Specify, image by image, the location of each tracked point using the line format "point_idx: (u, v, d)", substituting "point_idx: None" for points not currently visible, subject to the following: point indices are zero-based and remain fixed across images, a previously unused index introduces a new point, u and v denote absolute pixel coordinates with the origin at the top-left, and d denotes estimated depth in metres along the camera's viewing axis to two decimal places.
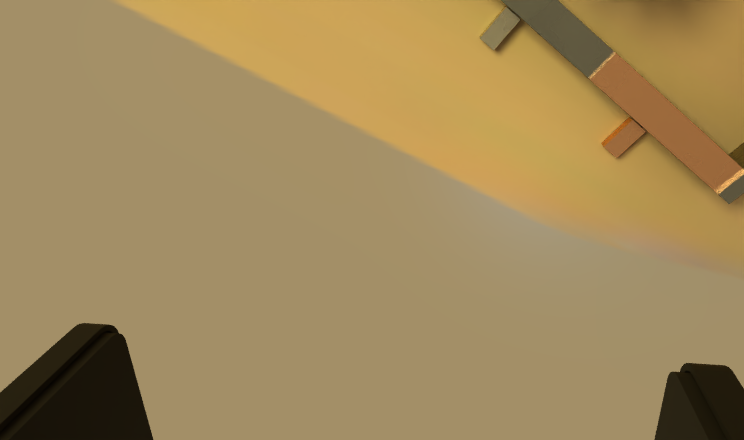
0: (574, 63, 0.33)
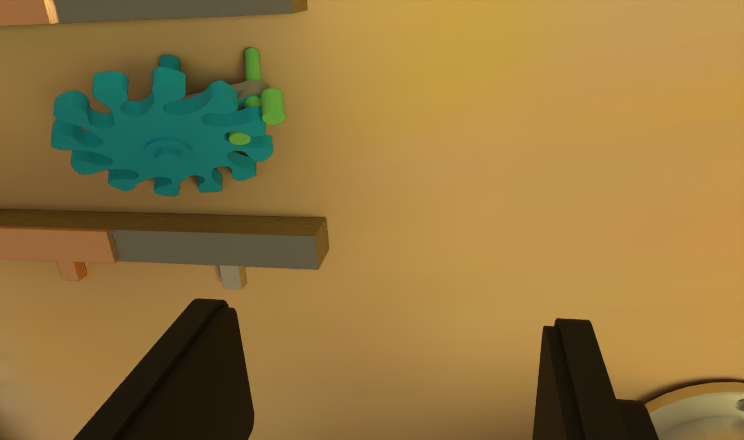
0: None
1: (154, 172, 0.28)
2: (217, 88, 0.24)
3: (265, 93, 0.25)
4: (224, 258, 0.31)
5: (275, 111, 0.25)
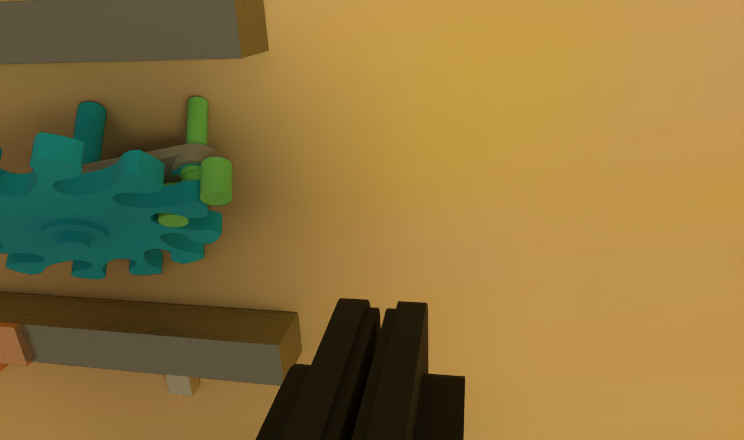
0: None
1: (65, 256, 0.21)
2: (131, 161, 0.17)
3: (205, 164, 0.18)
4: (163, 366, 0.23)
5: (217, 191, 0.18)
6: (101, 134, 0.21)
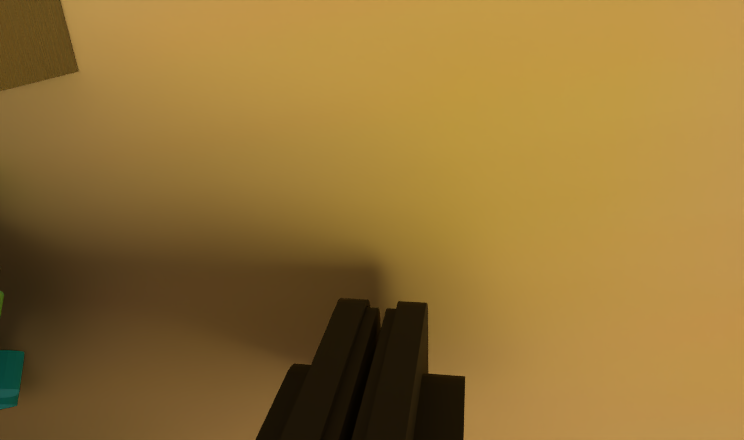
0: None
1: None
2: None
3: None
4: None
5: None
6: None
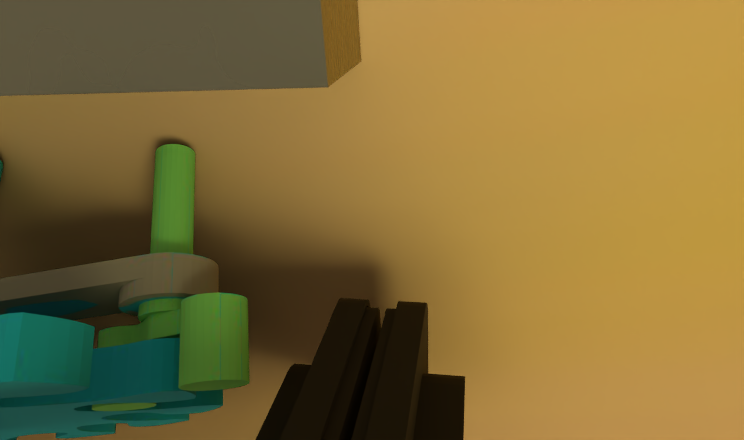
0: None
1: None
2: (0, 347, 0.07)
3: (191, 310, 0.08)
4: None
5: (218, 380, 0.08)
6: None
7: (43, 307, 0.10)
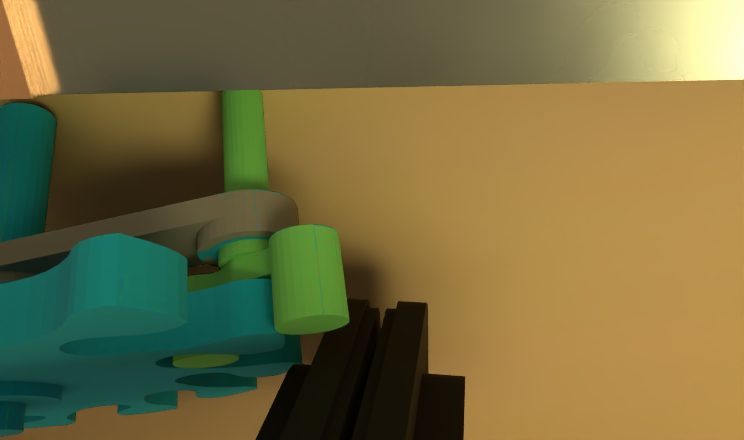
0: None
1: None
2: (99, 270, 0.06)
3: (283, 244, 0.08)
4: None
5: (321, 315, 0.07)
6: (45, 168, 0.10)
7: None
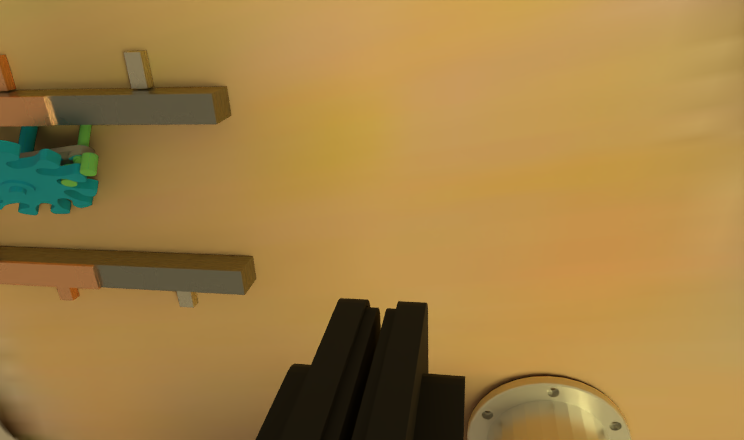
0: (64, 97, 0.37)
1: (14, 200, 0.41)
2: (43, 154, 0.36)
3: (83, 155, 0.38)
4: (177, 286, 0.42)
5: (87, 169, 0.37)
6: (34, 136, 0.40)
7: None
